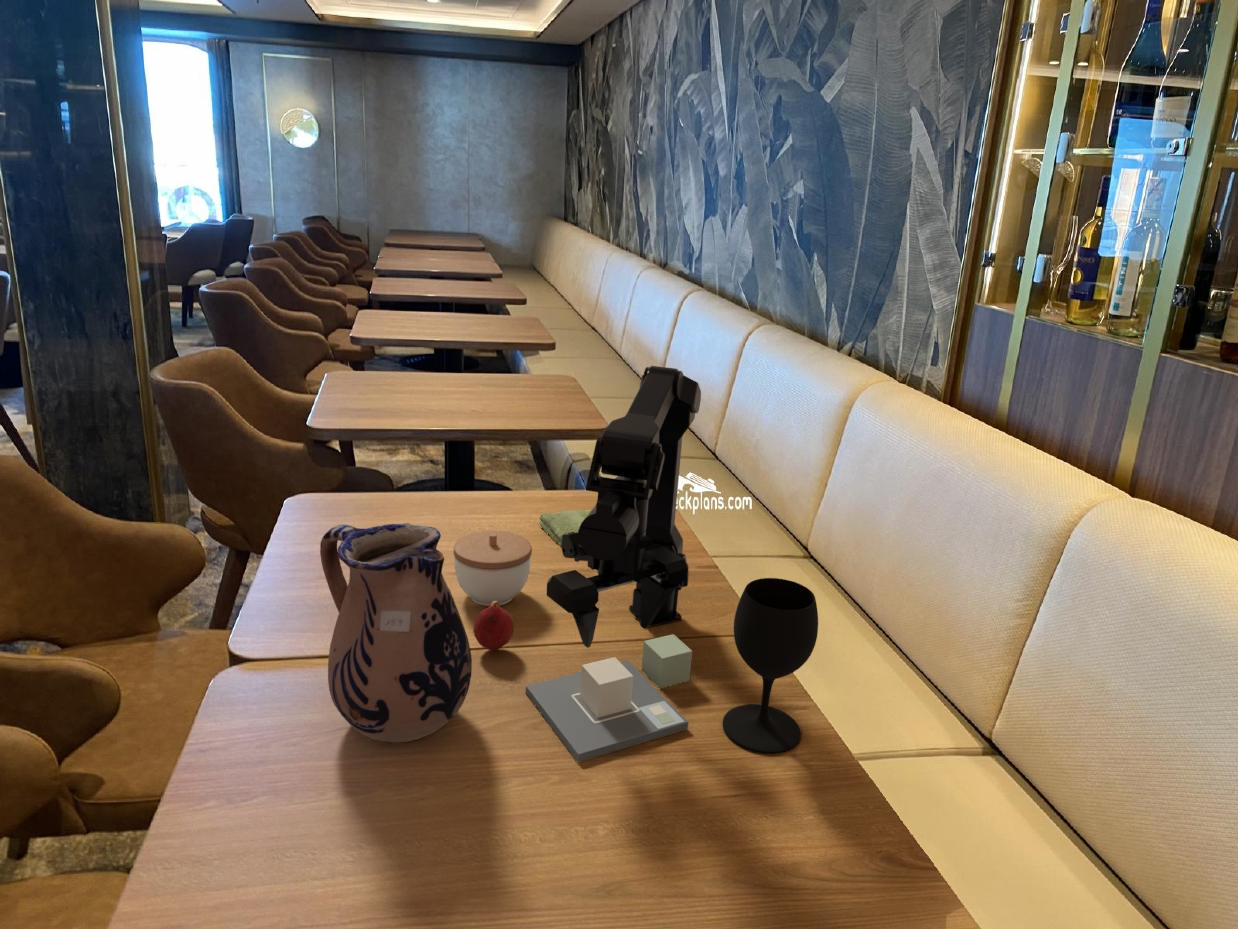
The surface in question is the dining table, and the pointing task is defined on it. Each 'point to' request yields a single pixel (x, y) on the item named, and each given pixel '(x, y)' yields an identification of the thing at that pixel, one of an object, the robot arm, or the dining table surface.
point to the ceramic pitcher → (394, 632)
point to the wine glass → (771, 658)
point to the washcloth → (562, 523)
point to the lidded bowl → (492, 565)
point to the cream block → (606, 687)
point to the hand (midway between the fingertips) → (615, 636)
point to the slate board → (608, 732)
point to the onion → (493, 627)
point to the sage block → (666, 660)
